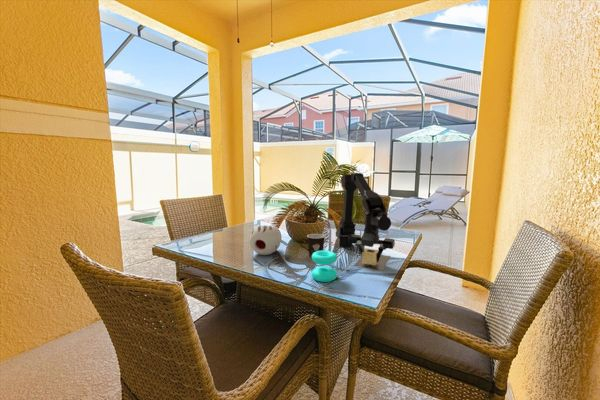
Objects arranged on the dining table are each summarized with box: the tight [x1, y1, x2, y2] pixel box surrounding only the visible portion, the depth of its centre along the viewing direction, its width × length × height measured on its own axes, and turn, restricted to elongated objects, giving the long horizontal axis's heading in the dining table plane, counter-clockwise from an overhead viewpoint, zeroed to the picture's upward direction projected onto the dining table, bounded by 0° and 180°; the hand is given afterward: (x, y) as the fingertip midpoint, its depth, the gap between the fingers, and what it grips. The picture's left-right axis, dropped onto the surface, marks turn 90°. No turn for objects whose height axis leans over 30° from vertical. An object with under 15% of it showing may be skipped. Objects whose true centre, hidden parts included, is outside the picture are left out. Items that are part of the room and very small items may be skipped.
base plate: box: [353, 254, 391, 271], centre depth 124 cm, size 20×12×6 cm, turn 153°
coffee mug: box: [298, 233, 325, 258], centre depth 135 cm, size 12×9×10 cm
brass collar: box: [361, 248, 379, 266], centre depth 119 cm, size 6×6×5 cm
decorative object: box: [249, 225, 282, 256], centre depth 139 cm, size 15×19×15 cm
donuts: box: [311, 249, 338, 283], centre depth 109 cm, size 10×10×10 cm
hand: (370, 260), depth 120 cm, fingers closed on brass collar, 6 cm apart
